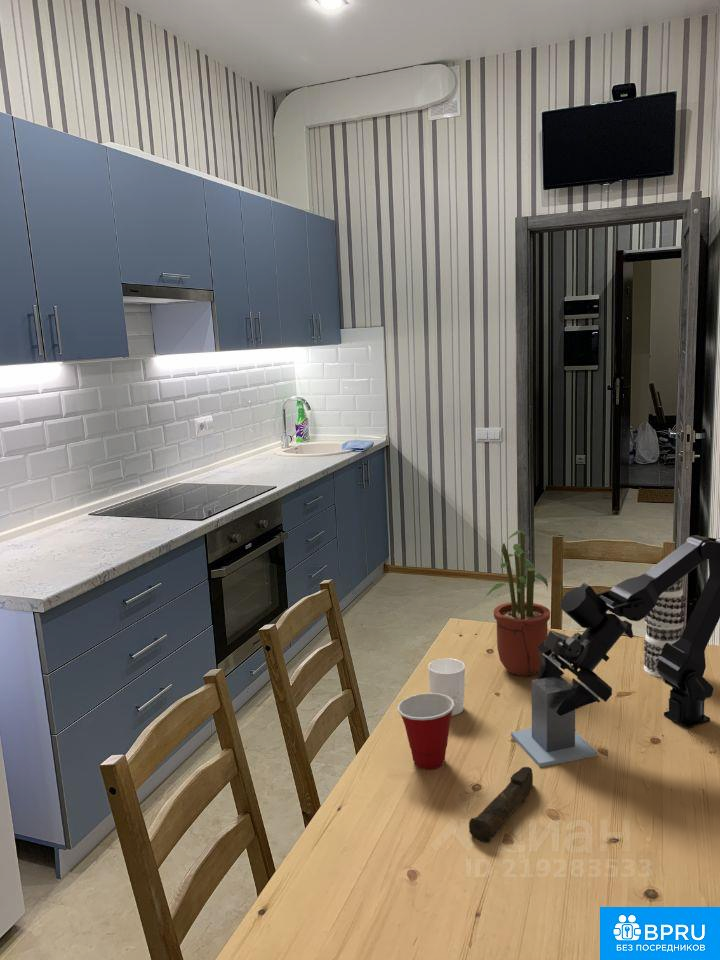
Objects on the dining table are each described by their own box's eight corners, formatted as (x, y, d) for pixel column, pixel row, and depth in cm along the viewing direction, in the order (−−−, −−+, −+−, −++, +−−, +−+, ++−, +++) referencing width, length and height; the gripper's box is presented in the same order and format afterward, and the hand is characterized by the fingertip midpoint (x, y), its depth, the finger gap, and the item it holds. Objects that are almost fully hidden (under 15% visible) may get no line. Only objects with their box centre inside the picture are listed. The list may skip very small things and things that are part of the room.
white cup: (425, 714, 162) (423, 671, 160) (435, 698, 169) (434, 656, 168) (461, 720, 159) (459, 675, 157) (470, 703, 166) (468, 660, 165)
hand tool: (489, 848, 119) (489, 821, 119) (468, 838, 122) (467, 812, 121) (546, 791, 133) (546, 767, 132) (525, 783, 136) (525, 760, 135)
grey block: (558, 731, 151) (559, 675, 149) (574, 746, 145) (575, 688, 143) (531, 736, 149) (531, 680, 147) (546, 752, 144) (547, 693, 141)
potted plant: (556, 681, 174) (555, 534, 168) (489, 684, 175) (485, 537, 168) (539, 650, 192) (538, 516, 185) (478, 653, 192) (475, 519, 186)
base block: (564, 728, 155) (564, 708, 154) (597, 758, 143) (597, 737, 142) (511, 739, 152) (510, 718, 151) (539, 770, 140) (539, 748, 140)
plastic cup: (418, 741, 152) (415, 685, 150) (466, 755, 145) (464, 697, 143) (388, 767, 143) (385, 708, 141) (438, 783, 137) (436, 722, 135)
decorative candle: (637, 673, 176) (638, 570, 171) (647, 659, 183) (649, 560, 179) (678, 682, 171) (681, 576, 166) (687, 666, 178) (690, 564, 174)
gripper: (546, 601, 153) (497, 661, 152) (597, 634, 135) (542, 702, 134) (580, 632, 156) (533, 691, 155) (635, 668, 138) (582, 735, 138)
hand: (545, 703), depth 146 cm, fingers open, 9 cm apart
